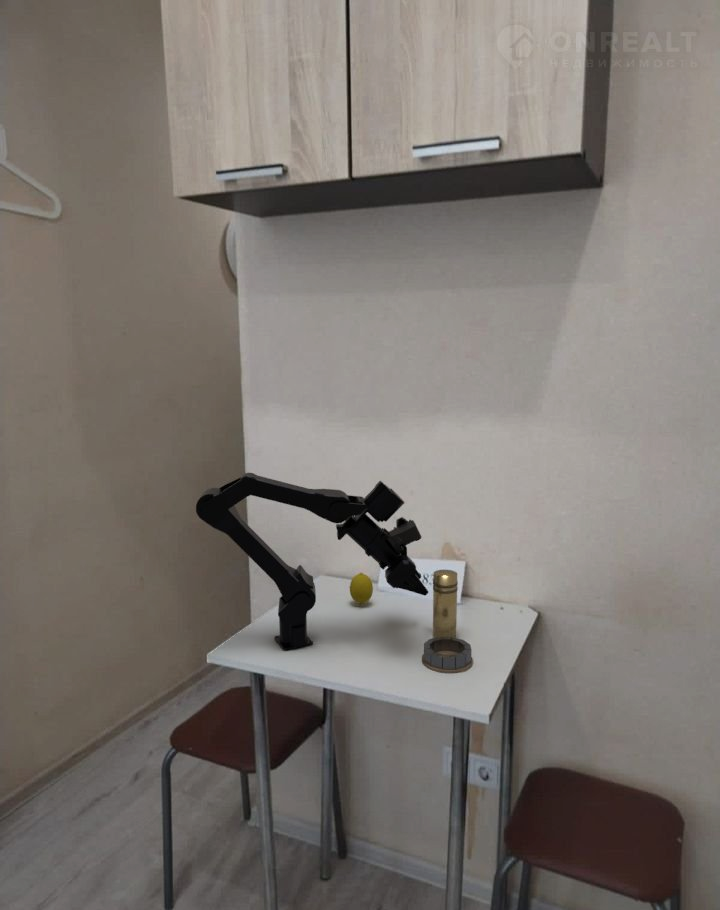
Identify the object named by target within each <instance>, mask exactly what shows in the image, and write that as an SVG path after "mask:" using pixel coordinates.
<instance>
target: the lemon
mask: <svg viewBox="0 0 720 910" xmlns="http://www.w3.org/2000/svg"><path fill="white" fill-rule="evenodd" d="M373 592H374V586H373V582H372V580H371V577H369V576H368V575H367V574H365V573H363V572H359V573H358V574H356V575H354V576H353V577H352V579H351V581H350V584H349V593H350V597H351V598H352V600H353V601H354V602H356V603H358V604H359V605H360V606H361V605H362V604H363V605H364V603H367V602H368V601H369V600H371V598H372V596H373Z"/></svg>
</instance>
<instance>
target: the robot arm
mask: <svg viewBox="0 0 720 910" xmlns="http://www.w3.org/2000/svg"><path fill="white" fill-rule="evenodd" d="M249 496H254V497H256V498H261V499H265V500H267V501H268V500H269V501H274V502H276V503H280V504H284V505H288V506H292V507H297V508H300V509H304V510H306V511H309V512H311V513H313V514H314V515H316V516H318V517H319V518H321V519H324V520H326V521H328V522H330V523H333V524H335V527H336V536H337V537H336V538H337V540H338V541H341V540H342V539H343V538H344V537H345V536H346V535H347V536H348V537H349V538H350V539H351V540H352V541H354V542H355V543H356V544H357V546H359V547H360V548H361V549H363V550H364V553H365V555H366V556H368V557H372V559H373V560H374V561H375V562H377V564H378V565H379V568H381V569H382V571H383V570H384V572H385V573H384V574H385V575H384V578H385V579H386V583H387V584H388V585H389V586H391V588H393V589H401V590H406V591H409V592H412V593H415V594H419V595H421V596H427V595H428V594H429V590H428V589H427V588H426V586H425V585H424V583H423V582H422V580H421V578H422V576H421V574H420V573H419V571H418V570H417V565H416V564H415V562H414V561H413V560H412V559H411V558H410V557H409V555H408V550H407V549H408V547H407V545H409V544H412V543H414V542H417V541H419V540H421V539H422V538H423V537H422V534H421V533H420V531H419V529H418V528H419V527H417V525H416V522H415V521H414V520H412V519H409V520H407V519H406V518H405V517H403V516H401V517H399V518H397V519H396V523H395V524H396V525H395V526H394V527H393V529H391V530H388V529H386V528H385V527H380V526H379V525H378V524H377V523H380V522H381V523H384V522H387V521H389V520H390V518H392V517H393V515H395V513H396V512H398V510H399V509H401V508H402V506H403V505H404V504H406V502H405V501H404V500H403V499H402V497H401V496H400V495H399V494H398V493H396V492H395V491H394V490H393V489H392V488H390V487H389V486H388V485H387V484H385V483H384V482H383V481H382V480H379V481H378V482H377V483H376V484H375V485H374V487H373V488H372V489H371V490H370V491H369V493H367V495H366V496H365V497H363V496H360V495H359V496H358V495H352V494H351V495H348V494H347V493H346V492H345V491H343V490H341V489H330V488H307V487H304V486H301V485H300V486H299V485H295V484H292V483H288V482H284V481H280V480H277V479H273V478H269V477H265V476H261V475H258V474H255V473H253V472H246V473H244V474H242V476H239V477H238V478H236V479H234V480H232V481H230V482H227V483H226V484H223V485H222V486H220V487H211V488H207V489H206V490H205V491H204V492H203V493H201V495H200V497H199V499H198V500H197V502H196V505H195V513H196V515H197V516H198V518H199V519H200V520H202V521H203V522H204V523H206V524H207V525H208V526H210V527H212V528H213V529H214V530H217V531H219V532H221V533H223V534H225V535H227V536H228V537H229V538H230V540H232V541H233V542H234V543H235V544H236V545H237V546H238V547H239V548H240V549H241V550H242V551H243V552H244V553H245V554H246V555H247V556H248V557H249V558H250V559H251V560H252V562H254V563H255V564H256V565H257V566H258V567H259V568H260V569H261V570H262V571H263V572H264V573H265V574H266V575H267V577H269V578H270V579H271V581H273V582H274V583H275V585H276V587H277V589H278V590H279V592H280V594H281V596H280V597H279V599H278V600H279V601H278V609H277V611H278V612H277V615H278V619H279V621H278V623H279V626H278V627H279V635H275V636H274V637H273V638H274V641H276V643H277V644H278V645H279V646H280V648H281V649H282V650H283V651H288V650H293V649H297V648H298V649H299V648H302V647H307V646H312V645H314V641H313V640H312V639H311V638H310V637H309V635H308V625H307V623H308V620H307V614H308V612H309V611H311V610H312V609H313V608H314V606H315V604H316V600H317V598H316V597H317V594H316V585H315V582H314V576H313V575H311V574H309V573H308V572H307V571H306V570H305V569H304V567H303V566H302V564H299V565H298V566H297V567H296V568H295V567H292V566H291V565H289V564H287V563H286V562H285V561H284V560H283V558H281V556H279V555H278V554H277V553H276V552H275V551H274V550H273V549H272V548H271V547H270V546H269V544H267V543H266V541H264V540H263V539H262V538H261V537H260V535H258V534H257V533H256V532H255V531H254V529H252V528H251V527H250V526H249V525H248V524H247V523H246V522H245V521H244V520H243V519H242V517H241V515H240V514H239V512H238V510H237V508H236V505H237V504H238V503H240V502H241V501H243V500H244V499H245V498H247V497H249ZM367 513H368V514H369V515H370V516H371V517H372V518H373V519H374V520H376V522H377V523H376V522H375V521H374V520H373V519H372V518H371V517H369V515H368V514H367Z"/></svg>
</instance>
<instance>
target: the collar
mask: <svg viewBox="0 0 720 910" xmlns="http://www.w3.org/2000/svg"><path fill="white" fill-rule="evenodd" d="M439 651H452V652H456V653H458V654H454V655H445V654H440V653H437V652H439ZM423 654H424V661H425V662H426V663H427V664H428V665H430V666H432V667H435V668H438V669H443V670H457V669H461V668H464V667H467V666H468V665H469V664H470V663H471V657H472V647H471V644H470V643H469V642H468V641H466V640H464V639H462V638H458V637H456V638H455V637H436V638H434V637H433V638H432V637H431V638H429V639H427V640H426V641H425V642H424V643H423Z"/></svg>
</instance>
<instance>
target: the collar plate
mask: <svg viewBox="0 0 720 910" xmlns="http://www.w3.org/2000/svg"><path fill="white" fill-rule="evenodd" d="M437 653H440V654H445V655H454V654H458V653H456V652H452V651H439V652H437ZM473 661H474V659H473V656H471V663H470V664H469V665H468V666H467V667H464V668H461V669H457V670H443V669H438V668H435V667H432V666H430V665H428V664H427V663H426V662H425V661H424V653H423V654H422V655H421V663H422V664H423V666H425V668H427V669H429V670H431V671H433V672H437V673H443V674H457V673H458V672H459V673H463V672H466V671H467V669H468V670H470V667H471V668H472V666H473V665H472V664H474V663H473ZM465 670H466V671H465ZM462 671H463V672H462Z"/></svg>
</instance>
